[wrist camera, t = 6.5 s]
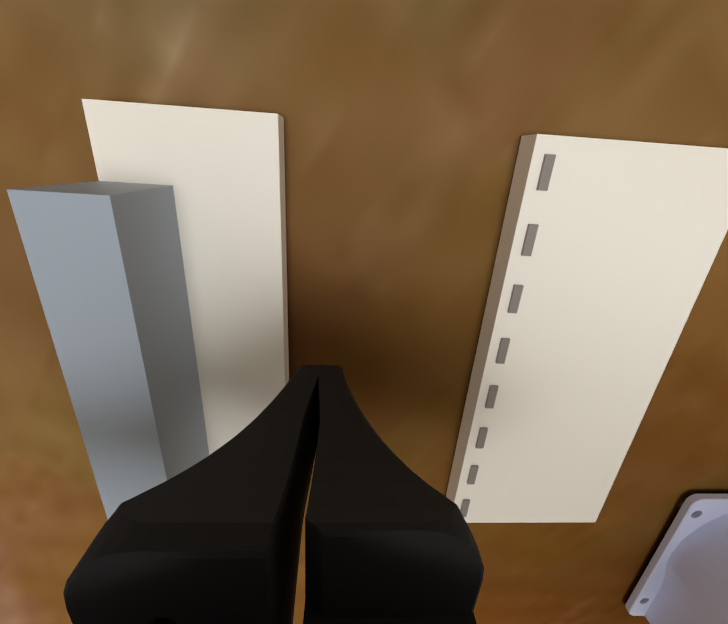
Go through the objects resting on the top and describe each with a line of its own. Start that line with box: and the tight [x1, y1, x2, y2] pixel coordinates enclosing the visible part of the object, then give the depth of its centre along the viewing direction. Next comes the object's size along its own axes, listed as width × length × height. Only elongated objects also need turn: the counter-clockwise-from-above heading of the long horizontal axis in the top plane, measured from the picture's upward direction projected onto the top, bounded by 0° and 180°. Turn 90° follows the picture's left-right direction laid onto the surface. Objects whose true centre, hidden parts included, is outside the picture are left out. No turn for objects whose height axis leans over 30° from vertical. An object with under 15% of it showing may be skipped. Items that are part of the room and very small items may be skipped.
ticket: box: [446, 134, 728, 523], centre depth 14 cm, size 16×7×1 cm, turn 176°
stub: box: [7, 99, 289, 519], centre depth 12 cm, size 16×5×4 cm, turn 176°
